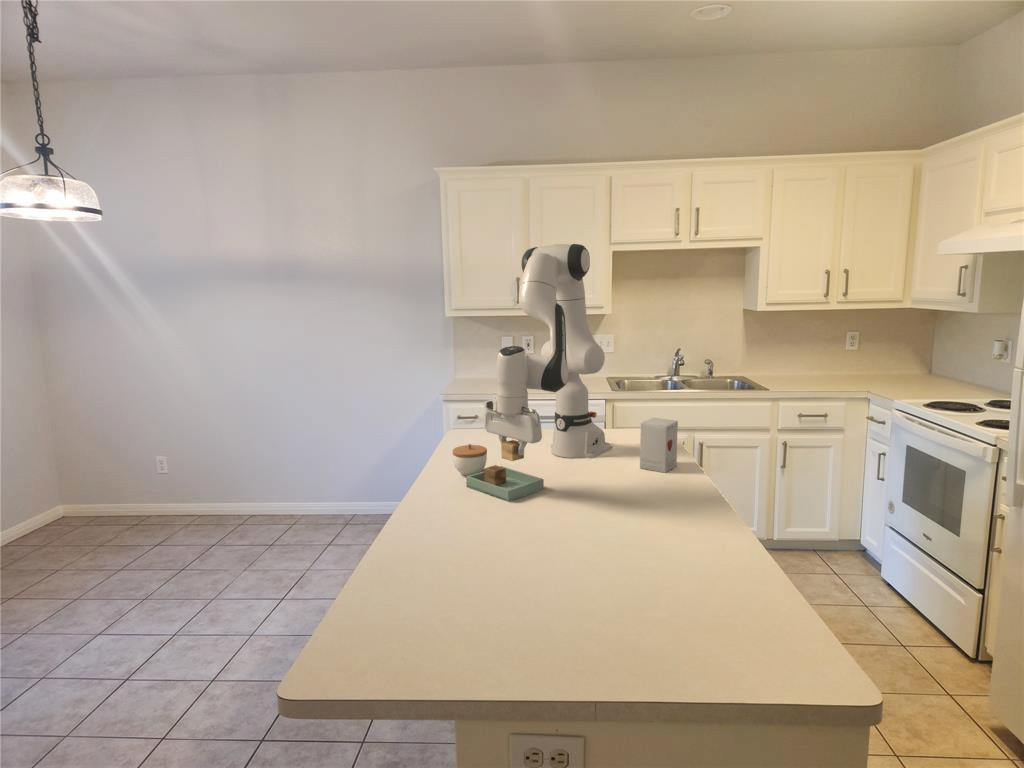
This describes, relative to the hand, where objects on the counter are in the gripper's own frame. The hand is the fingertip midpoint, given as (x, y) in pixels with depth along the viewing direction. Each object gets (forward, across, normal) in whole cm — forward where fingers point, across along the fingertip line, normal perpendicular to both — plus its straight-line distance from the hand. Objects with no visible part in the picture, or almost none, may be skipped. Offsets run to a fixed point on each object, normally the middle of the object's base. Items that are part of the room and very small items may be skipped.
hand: (512, 452), depth 184 cm
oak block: (+2, 0, 0) cm, 2 cm away
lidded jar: (+12, +22, -2) cm, 25 cm away
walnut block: (+11, +8, 0) cm, 14 cm away
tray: (+12, +4, 0) cm, 12 cm away
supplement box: (+11, -17, -47) cm, 51 cm away
